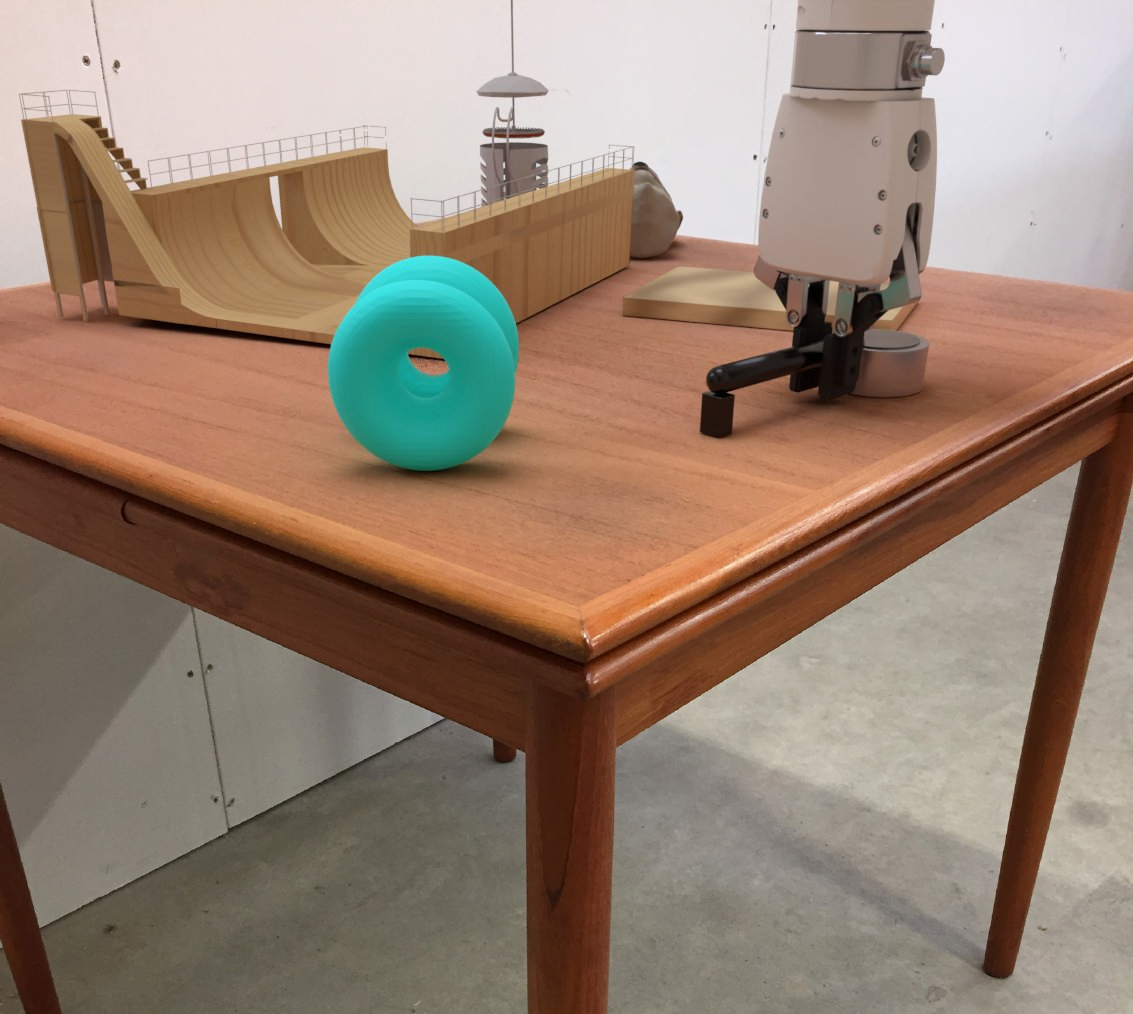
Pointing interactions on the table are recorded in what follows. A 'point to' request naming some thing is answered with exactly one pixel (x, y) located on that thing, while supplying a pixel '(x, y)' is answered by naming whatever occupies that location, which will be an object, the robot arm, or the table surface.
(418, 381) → the donuts
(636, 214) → the ceramic sculpture
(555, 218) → the skate ramp
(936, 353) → the table surface
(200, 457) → the table surface
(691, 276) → the cutting board
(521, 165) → the bird feeder
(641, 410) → the table surface
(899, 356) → the saucepan
